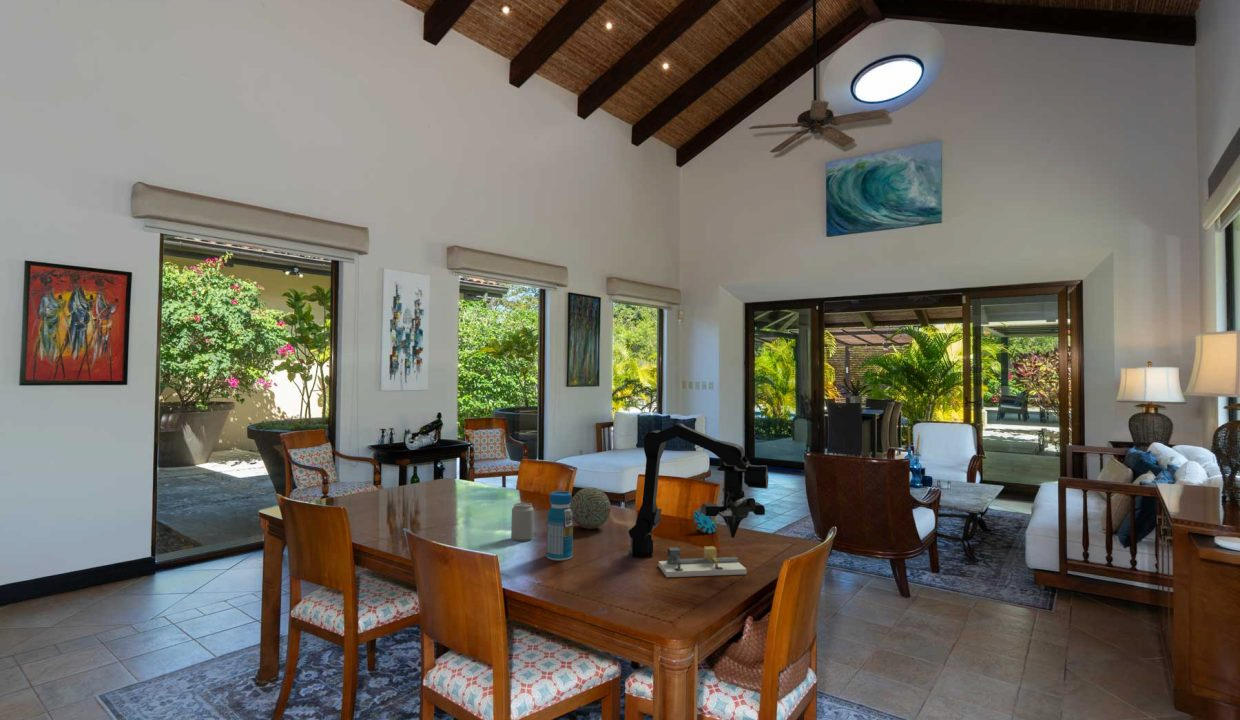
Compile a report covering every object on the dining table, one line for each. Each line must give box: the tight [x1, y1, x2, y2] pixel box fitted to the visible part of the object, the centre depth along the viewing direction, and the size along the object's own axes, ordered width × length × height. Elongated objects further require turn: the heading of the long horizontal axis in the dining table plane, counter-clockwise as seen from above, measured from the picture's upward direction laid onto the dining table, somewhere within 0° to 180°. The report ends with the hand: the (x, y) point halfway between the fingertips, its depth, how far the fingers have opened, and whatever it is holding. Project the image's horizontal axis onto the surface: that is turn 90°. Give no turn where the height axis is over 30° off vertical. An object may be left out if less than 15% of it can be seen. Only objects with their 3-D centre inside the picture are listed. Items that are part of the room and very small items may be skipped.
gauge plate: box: [658, 560, 747, 578], centre depth 189 cm, size 24×10×2 cm, turn 100°
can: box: [510, 502, 535, 542], centre depth 218 cm, size 8×8×12 cm
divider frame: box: [666, 546, 739, 568], centre depth 189 cm, size 22×8×4 cm, turn 100°
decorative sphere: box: [569, 486, 611, 530], centre depth 234 cm, size 15×15×15 cm
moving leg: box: [703, 545, 718, 567], centre depth 189 cm, size 3×8×4 cm, turn 10°
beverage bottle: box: [545, 490, 575, 562], centre depth 198 cm, size 8×8×20 cm
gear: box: [692, 508, 718, 535], centre depth 234 cm, size 11×6×10 cm
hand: (732, 537), depth 193 cm, fingers closed
